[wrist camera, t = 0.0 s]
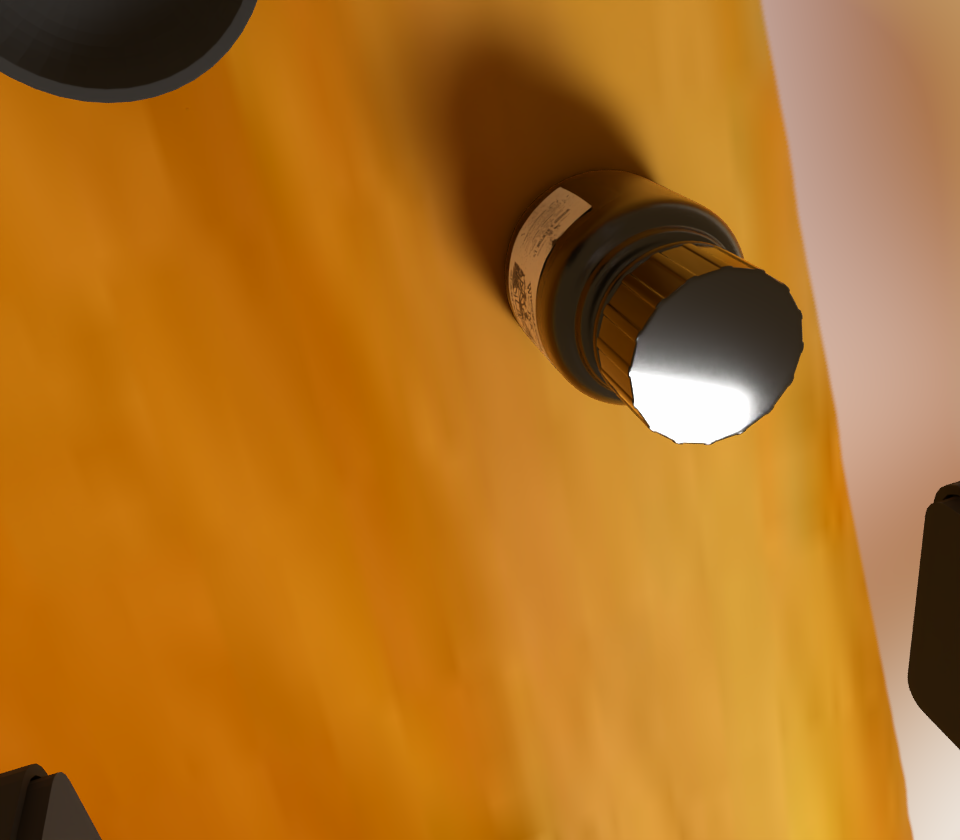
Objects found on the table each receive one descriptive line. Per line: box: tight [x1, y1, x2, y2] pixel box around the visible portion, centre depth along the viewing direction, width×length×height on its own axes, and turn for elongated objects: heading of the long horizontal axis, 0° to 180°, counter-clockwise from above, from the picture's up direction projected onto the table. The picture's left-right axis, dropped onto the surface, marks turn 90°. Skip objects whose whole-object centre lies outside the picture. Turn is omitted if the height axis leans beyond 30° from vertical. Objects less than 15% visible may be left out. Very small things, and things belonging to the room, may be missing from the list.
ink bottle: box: [505, 170, 804, 445], centre depth 37 cm, size 10×9×12 cm
